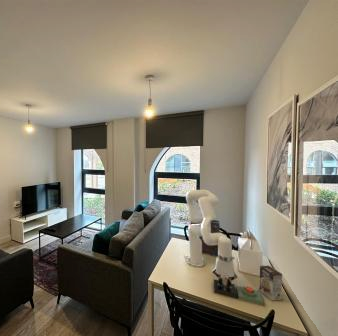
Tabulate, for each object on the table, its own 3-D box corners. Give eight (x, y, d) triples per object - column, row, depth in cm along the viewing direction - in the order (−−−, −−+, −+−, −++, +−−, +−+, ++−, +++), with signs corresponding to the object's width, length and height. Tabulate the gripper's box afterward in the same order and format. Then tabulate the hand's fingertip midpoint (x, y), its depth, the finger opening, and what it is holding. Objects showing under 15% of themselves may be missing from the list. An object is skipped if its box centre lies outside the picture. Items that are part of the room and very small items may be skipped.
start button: (245, 292, 114) (245, 289, 113) (244, 288, 117) (244, 285, 117) (253, 294, 112) (253, 291, 112) (252, 289, 115) (252, 287, 115)
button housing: (238, 299, 113) (238, 292, 113) (236, 288, 122) (236, 282, 122) (263, 305, 108) (263, 298, 107) (258, 294, 117) (259, 287, 116)
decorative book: (219, 253, 167) (219, 220, 165) (219, 257, 160) (219, 222, 159) (190, 248, 178) (190, 217, 176) (190, 251, 172) (190, 219, 170)
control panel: (214, 293, 118) (214, 288, 118) (213, 283, 127) (213, 278, 127) (236, 298, 113) (236, 293, 113) (234, 288, 122) (234, 283, 122)
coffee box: (258, 290, 120) (259, 265, 119) (268, 289, 121) (268, 265, 120) (272, 300, 111) (272, 274, 110) (282, 299, 112) (282, 273, 111)
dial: (221, 287, 119) (221, 279, 119) (220, 283, 123) (220, 275, 123) (228, 288, 118) (228, 280, 117) (227, 285, 121) (227, 277, 121)
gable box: (238, 257, 159) (238, 225, 157) (257, 262, 152) (258, 228, 151) (239, 271, 140) (240, 235, 138) (262, 277, 133) (262, 238, 132)
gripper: (239, 257, 119) (239, 285, 120) (209, 252, 126) (209, 278, 127) (241, 263, 112) (241, 292, 113) (210, 257, 119) (210, 285, 120)
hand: (224, 284), depth 120 cm, fingers closed on dial, 4 cm apart
